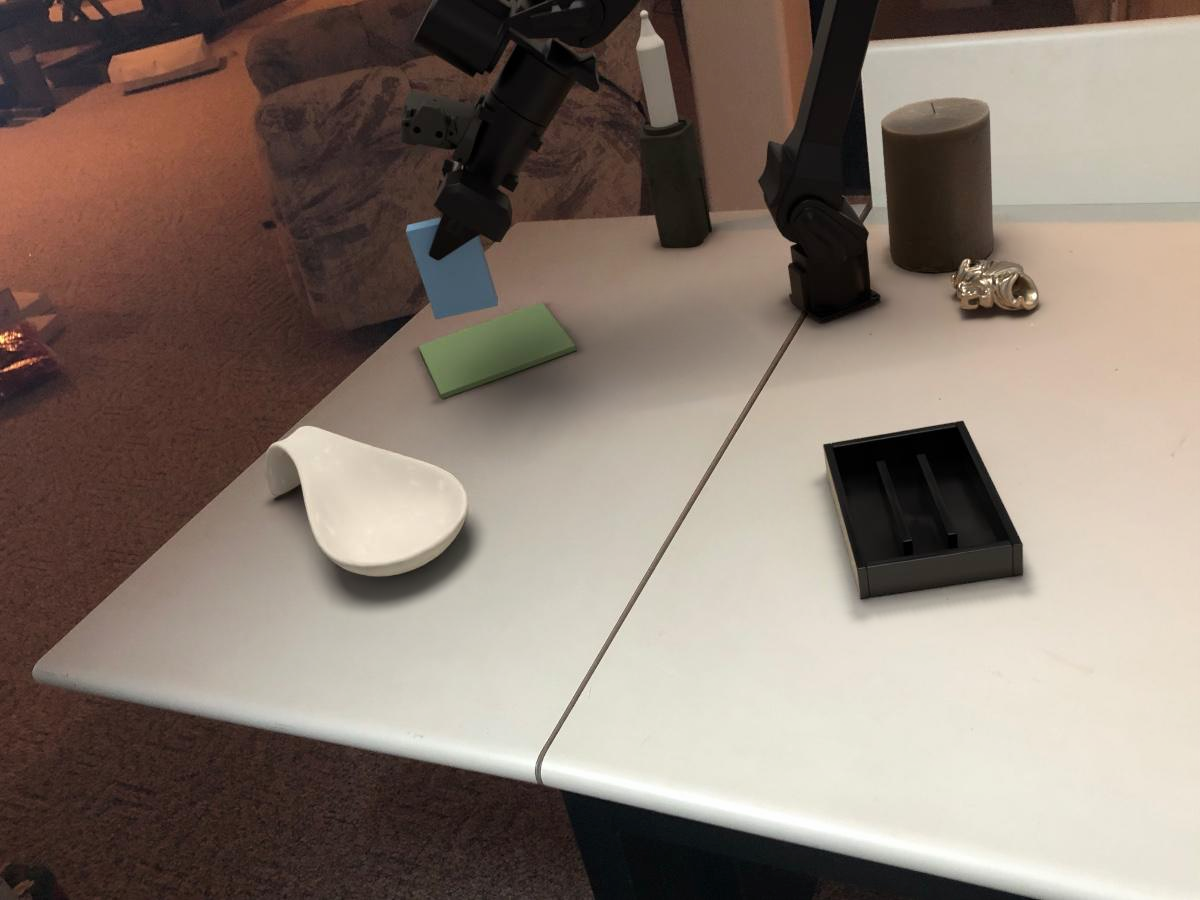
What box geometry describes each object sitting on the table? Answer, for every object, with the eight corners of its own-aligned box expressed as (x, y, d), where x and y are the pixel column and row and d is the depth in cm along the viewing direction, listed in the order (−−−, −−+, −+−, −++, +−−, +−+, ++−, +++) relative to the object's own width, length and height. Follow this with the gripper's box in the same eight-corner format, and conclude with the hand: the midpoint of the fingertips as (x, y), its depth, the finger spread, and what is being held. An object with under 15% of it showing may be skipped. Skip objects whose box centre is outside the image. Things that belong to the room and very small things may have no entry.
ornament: (928, 307, 98) (926, 271, 96) (980, 277, 101) (979, 241, 99) (1000, 332, 92) (999, 294, 90) (1053, 299, 95) (1054, 261, 93)
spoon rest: (508, 531, 84) (483, 456, 80) (390, 622, 78) (357, 546, 74) (344, 451, 100) (316, 386, 96) (235, 522, 94) (201, 455, 90)
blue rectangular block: (498, 298, 102) (471, 210, 97) (497, 305, 101) (470, 216, 96) (437, 312, 103) (407, 224, 98) (435, 319, 102) (405, 231, 97)
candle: (674, 227, 126) (631, 5, 112) (715, 227, 124) (675, 0, 110) (657, 247, 122) (610, 20, 109) (699, 247, 120) (656, 15, 106)
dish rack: (827, 482, 81) (822, 443, 79) (965, 459, 79) (963, 420, 77) (861, 610, 69) (857, 569, 67) (1023, 586, 68) (1023, 544, 66)
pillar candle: (930, 283, 102) (921, 128, 94) (871, 252, 110) (858, 107, 102) (1016, 248, 104) (1014, 93, 96) (951, 220, 112) (945, 75, 104)
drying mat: (543, 306, 116) (542, 301, 116) (576, 350, 106) (575, 345, 106) (419, 350, 114) (418, 345, 114) (442, 399, 104) (440, 394, 104)
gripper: (444, 29, 97) (367, 174, 104) (425, 84, 81) (336, 250, 88) (550, 95, 101) (469, 231, 108) (552, 160, 85) (457, 314, 92)
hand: (434, 253), depth 99 cm, fingers closed on blue rectangular block, 2 cm apart
